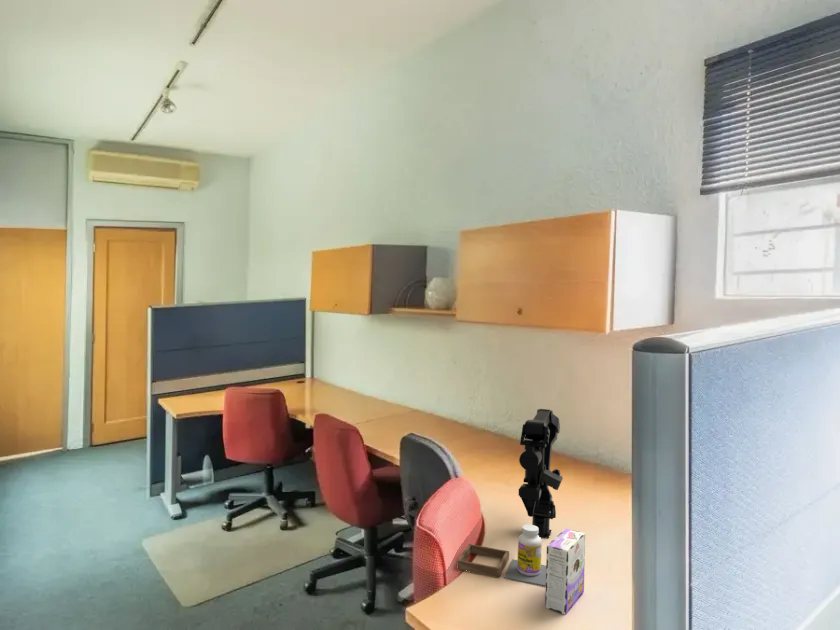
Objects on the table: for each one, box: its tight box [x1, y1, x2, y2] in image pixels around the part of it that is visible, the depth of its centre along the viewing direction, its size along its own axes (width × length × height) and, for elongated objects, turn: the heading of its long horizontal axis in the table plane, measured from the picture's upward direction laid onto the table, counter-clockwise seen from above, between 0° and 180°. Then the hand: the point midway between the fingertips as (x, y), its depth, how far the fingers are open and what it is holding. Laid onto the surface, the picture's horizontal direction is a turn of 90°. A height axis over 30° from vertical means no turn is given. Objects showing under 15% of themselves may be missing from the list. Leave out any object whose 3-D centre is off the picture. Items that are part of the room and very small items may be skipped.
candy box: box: [544, 528, 586, 616], centre depth 147 cm, size 14×6×16 cm, turn 145°
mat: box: [503, 559, 546, 588], centre depth 161 cm, size 12×12×1 cm
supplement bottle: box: [517, 524, 543, 576], centre depth 161 cm, size 7×7×13 cm
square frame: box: [456, 543, 510, 579], centre depth 166 cm, size 13×13×2 cm
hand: (533, 511), depth 175 cm, fingers open, 9 cm apart
